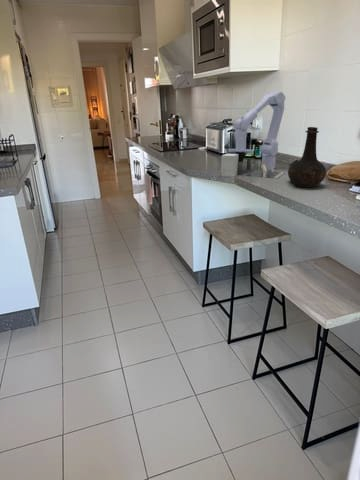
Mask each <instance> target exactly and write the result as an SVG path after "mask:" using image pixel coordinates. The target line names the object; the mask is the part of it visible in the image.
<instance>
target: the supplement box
mask: <svg viewBox="0 0 360 480" xmlns="http://www.w3.org/2000/svg"><path fill="white" fill-rule="evenodd" d="M236 176H239V175H238V154H236V153H225V154H222V155H221V178H223V177H229V178H230V177H231V178H234V177H236Z"/></svg>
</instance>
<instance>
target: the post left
mask: <svg viewBox="0 0 360 480" xmlns="http://www.w3.org/2000/svg"><path fill="white" fill-rule="evenodd" d="M243 162H244V161H243ZM243 162H238V175H237V176H242V175H243V165H244V164H243Z"/></svg>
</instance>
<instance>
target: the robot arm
mask: <svg viewBox="0 0 360 480" xmlns="http://www.w3.org/2000/svg"><path fill="white" fill-rule="evenodd" d="M285 100H286V95H285V94H284V92H283V91H282V90H281V91H268V92H267V93H266V94H265V95H264V96H263V98H262V99H261V100H260V101H259V102H258V103H257V105H256V106H255V107H254V108H253V109H252V108H251V109H248V110H247V111H246V113H245V114H244V115H242V116H241V117H240V118H239V119H237V120H236V121H235V123H234V125H233V126H234V128H235V135H236V136H235V148H228V151H227V152H228V153H233V154H238V162H244V159H245V157H246V155H247V154H254V149H250V148H247V133H248V129H249V127H250V124H251V123H253V122H254V121H255V120H256V119H257V117H258V114H259V113H260V112H262V110H263V109H265V108H266V107H268V106H270V107H271V109H272V110H273V112H272V116H271V121H270V124H269V128H268V131H267V136H266V138H265V139H264V140H263V141H262V144H261V146H260V149H259V152H260V153H261V156H262V157H261V158H262V159H261V165H262V164H265V167H266V170H267V171H270V168H271V167H274V169H275V168H276V155H277V154H278V153H279V142H278V141H277V138H278V136H279V135H278V133H279V130H280V127H281V123H282V119H283V115H284V111H285Z"/></svg>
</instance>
